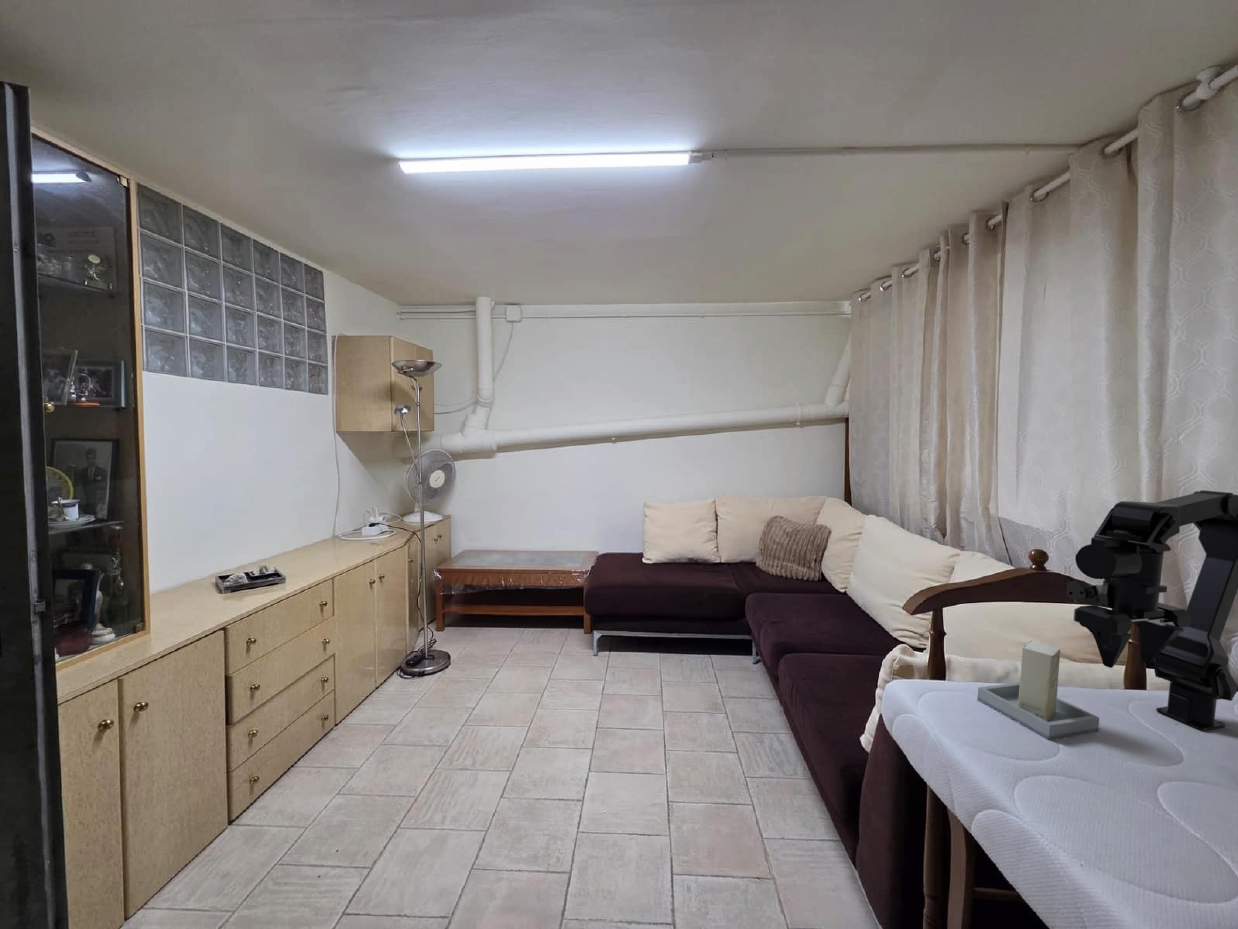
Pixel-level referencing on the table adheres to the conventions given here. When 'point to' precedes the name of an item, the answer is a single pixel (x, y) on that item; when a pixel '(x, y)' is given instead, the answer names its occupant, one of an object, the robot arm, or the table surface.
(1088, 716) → the sorting tray
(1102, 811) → the table surface
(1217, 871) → the table surface
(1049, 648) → the skincare box
